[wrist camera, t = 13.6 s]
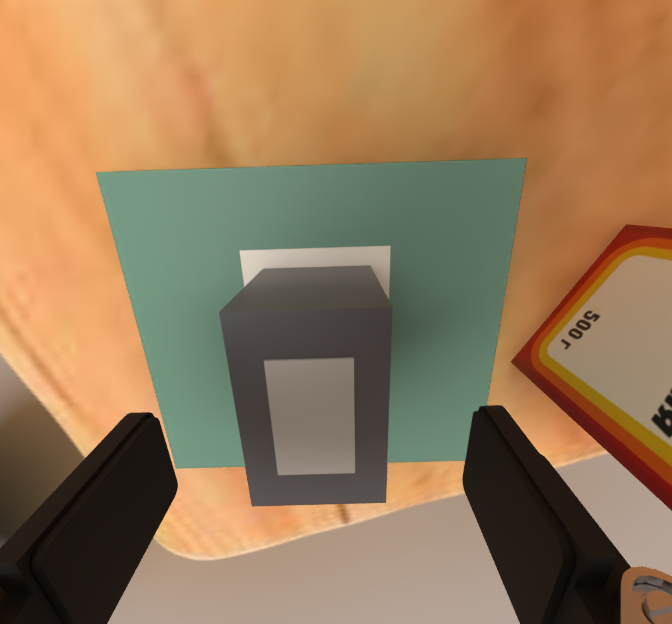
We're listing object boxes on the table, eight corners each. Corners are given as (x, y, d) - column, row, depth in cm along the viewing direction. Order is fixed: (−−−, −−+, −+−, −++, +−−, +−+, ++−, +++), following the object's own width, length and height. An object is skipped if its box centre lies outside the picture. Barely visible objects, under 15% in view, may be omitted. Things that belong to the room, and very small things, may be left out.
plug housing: (370, 265, 16) (393, 307, 10) (369, 404, 19) (386, 504, 13) (263, 268, 16) (217, 313, 10) (278, 406, 19) (251, 508, 13)
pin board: (512, 161, 15) (595, 143, 11) (470, 446, 22) (509, 518, 17) (112, 174, 16) (12, 163, 11) (184, 454, 22) (140, 528, 17)
